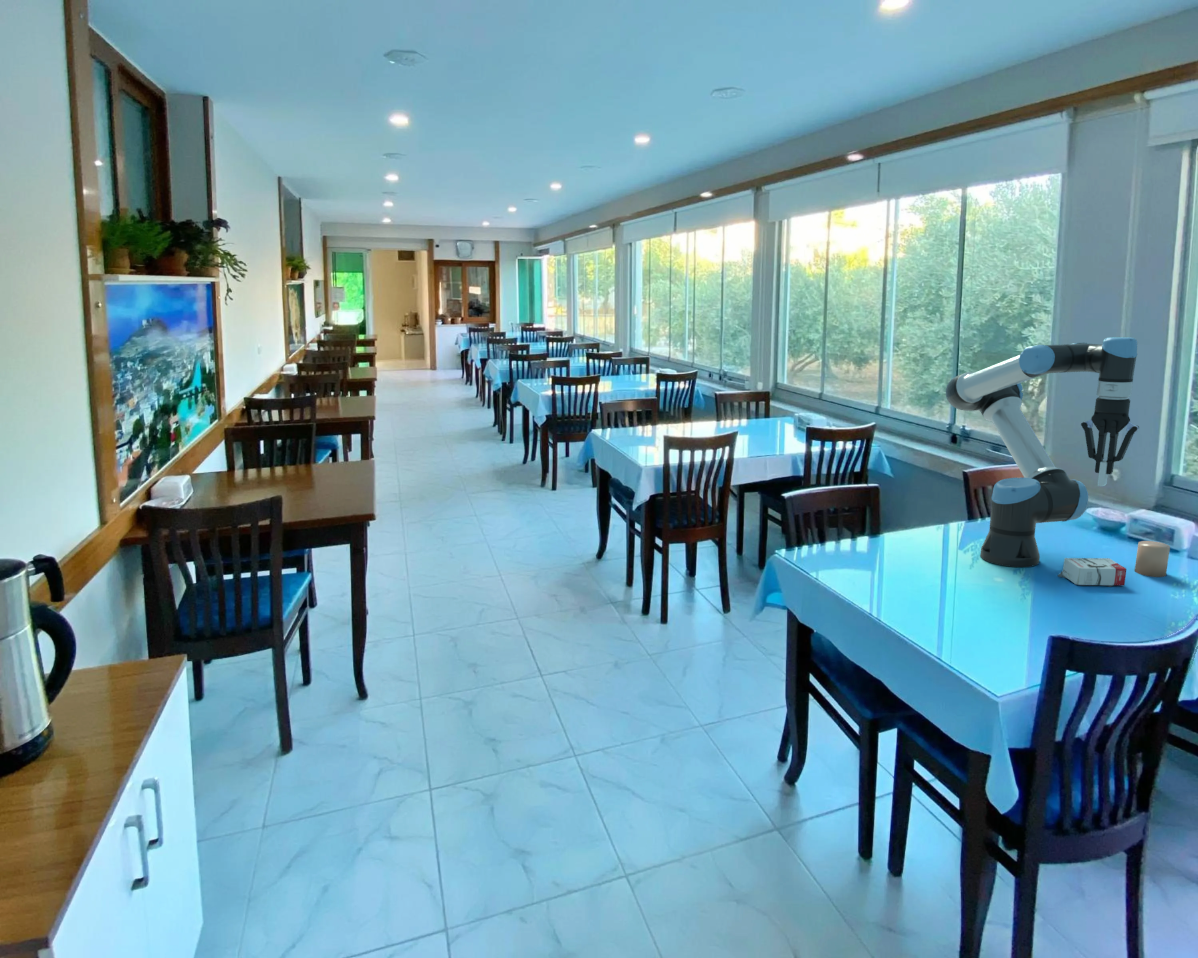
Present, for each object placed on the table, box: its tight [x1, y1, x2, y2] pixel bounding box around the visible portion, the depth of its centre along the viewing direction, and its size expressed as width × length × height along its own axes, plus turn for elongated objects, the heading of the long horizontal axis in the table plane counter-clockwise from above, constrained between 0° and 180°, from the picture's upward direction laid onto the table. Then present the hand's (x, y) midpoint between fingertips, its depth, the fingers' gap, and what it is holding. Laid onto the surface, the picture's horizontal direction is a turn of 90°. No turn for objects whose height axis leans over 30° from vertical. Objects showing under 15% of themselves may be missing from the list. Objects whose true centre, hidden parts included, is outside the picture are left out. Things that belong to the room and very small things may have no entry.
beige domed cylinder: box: [1134, 540, 1171, 578], centre depth 209 cm, size 7×7×8 cm
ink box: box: [1061, 557, 1127, 586], centre depth 204 cm, size 9×5×12 cm
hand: (1101, 485), depth 205 cm, fingers closed
